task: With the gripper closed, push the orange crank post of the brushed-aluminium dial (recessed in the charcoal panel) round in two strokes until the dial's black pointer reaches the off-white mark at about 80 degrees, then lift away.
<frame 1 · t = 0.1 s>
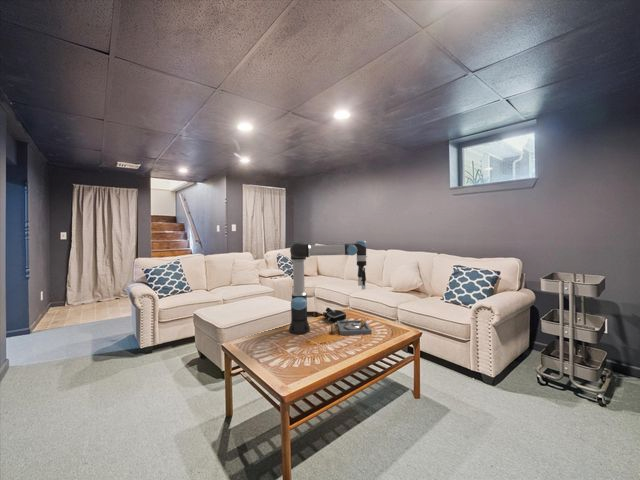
hand: (361, 287, 229), 28 cm above the table, fingers open, 13 cm apart
panel: (353, 328, 217), on the table
film camera: (333, 319, 239), on the table
dial: (353, 322, 217), point 4 cm above the table, hinge at 0.0°
screwdriver: (333, 331, 213), on the table
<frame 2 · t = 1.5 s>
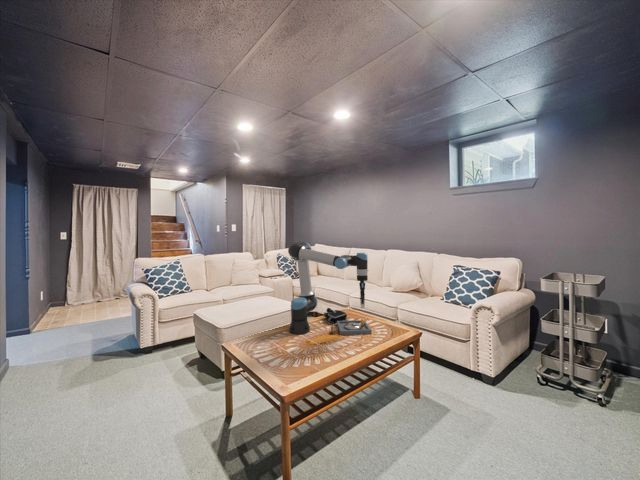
hand: (362, 306, 207), 19 cm above the table, fingers open, 9 cm apart
film camera: (333, 320, 238), on the table
everything else where it was.
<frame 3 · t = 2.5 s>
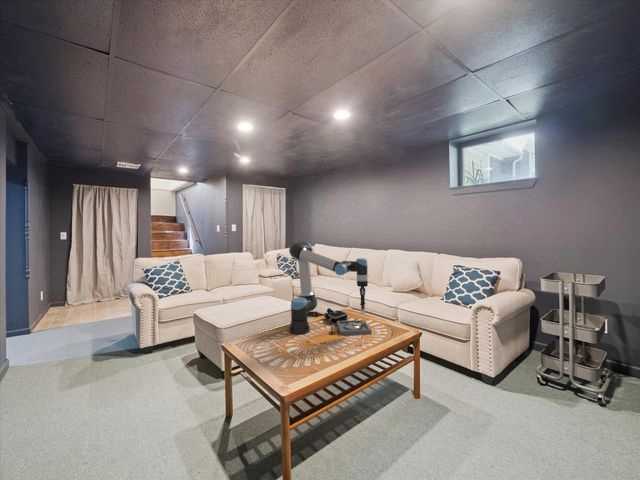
hand: (362, 313, 207), 14 cm above the table, fingers closed
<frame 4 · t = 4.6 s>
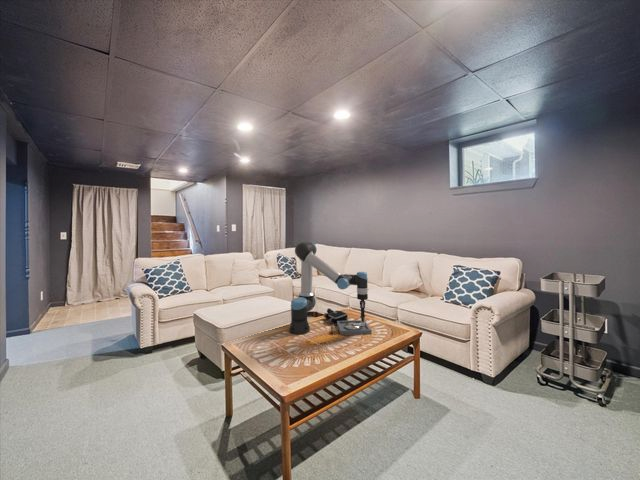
hand: (362, 325, 211), 4 cm above the table, fingers closed
dial: (353, 322, 217), point 4 cm above the table, hinge at 4.4°, touching gripper
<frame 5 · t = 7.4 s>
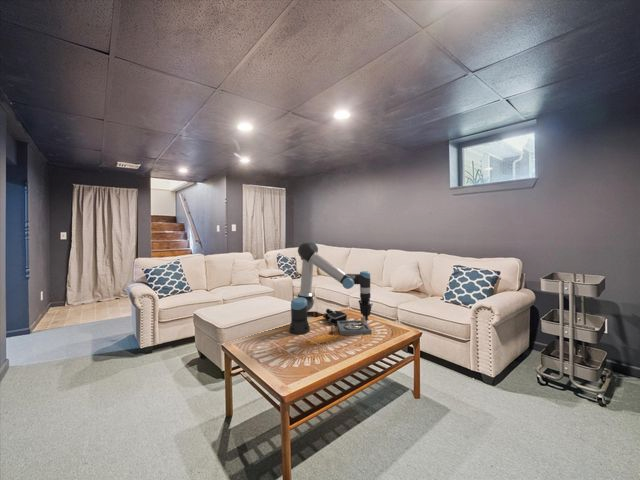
hand: (365, 324, 215), 4 cm above the table, fingers closed
dial: (353, 322, 217), point 4 cm above the table, hinge at 35.1°, touching gripper
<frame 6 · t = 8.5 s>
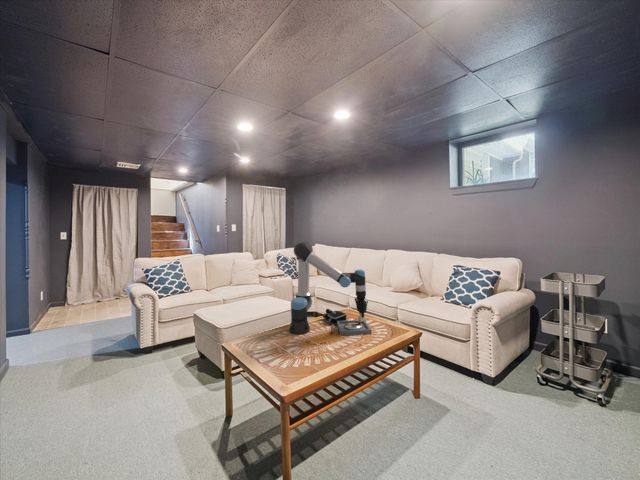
hand: (362, 321, 220), 4 cm above the table, fingers closed
dial: (353, 322, 217), point 4 cm above the table, hinge at 64.0°, touching gripper
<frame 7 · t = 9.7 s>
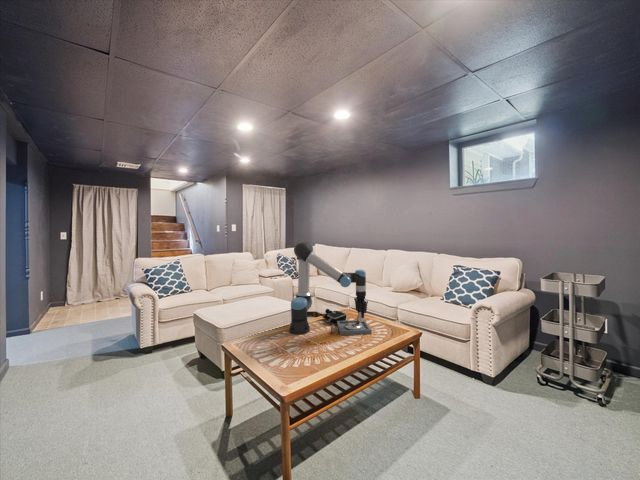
hand: (361, 321, 220), 4 cm above the table, fingers closed
dial: (353, 322, 217), point 4 cm above the table, hinge at 77.0°, touching gripper
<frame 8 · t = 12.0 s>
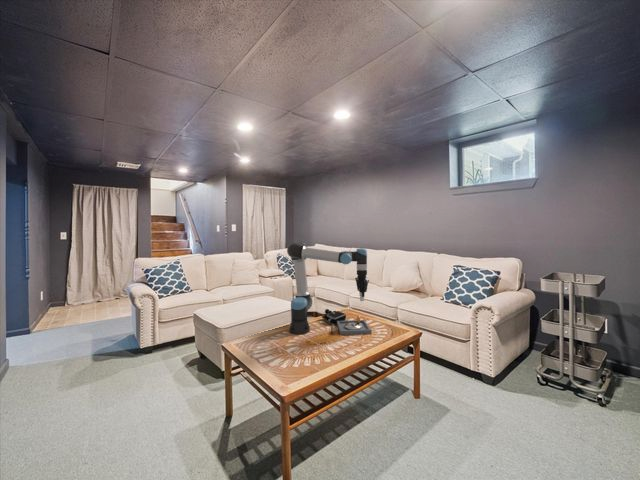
hand: (362, 300, 218), 20 cm above the table, fingers closed
dial: (353, 322, 217), point 4 cm above the table, hinge at 74.0°
at the end: dial at +74° (first picture: +0°); screwdriver moved 0.3 cm from its start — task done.
